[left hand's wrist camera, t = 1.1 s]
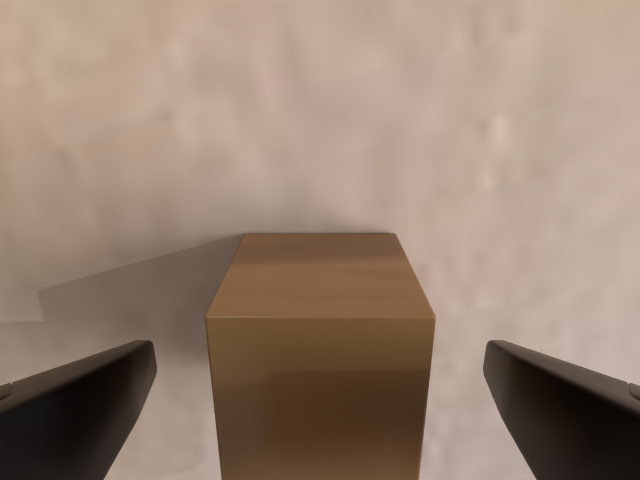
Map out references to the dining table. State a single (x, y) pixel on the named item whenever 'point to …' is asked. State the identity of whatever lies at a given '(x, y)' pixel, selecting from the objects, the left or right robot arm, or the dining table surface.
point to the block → (320, 359)
